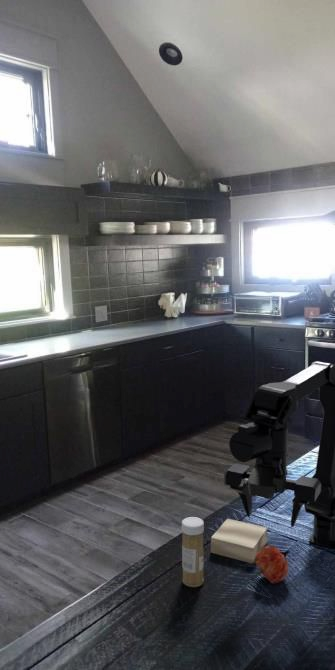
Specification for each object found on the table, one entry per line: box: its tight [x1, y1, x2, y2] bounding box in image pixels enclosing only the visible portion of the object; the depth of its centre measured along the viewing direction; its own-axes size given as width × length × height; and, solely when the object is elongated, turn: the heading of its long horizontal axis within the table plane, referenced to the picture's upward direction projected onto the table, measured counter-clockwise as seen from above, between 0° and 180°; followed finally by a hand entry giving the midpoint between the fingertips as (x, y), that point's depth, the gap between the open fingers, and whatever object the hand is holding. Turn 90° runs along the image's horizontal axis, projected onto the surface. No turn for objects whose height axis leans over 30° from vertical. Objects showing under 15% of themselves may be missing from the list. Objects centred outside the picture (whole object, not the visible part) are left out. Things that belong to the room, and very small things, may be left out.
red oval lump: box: [250, 545, 292, 584], centre depth 118 cm, size 7×7×10 cm
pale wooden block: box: [210, 518, 268, 564], centre depth 131 cm, size 10×10×4 cm
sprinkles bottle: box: [181, 516, 205, 588], centre depth 117 cm, size 5×5×14 cm
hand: (270, 521), depth 116 cm, fingers open, 9 cm apart
